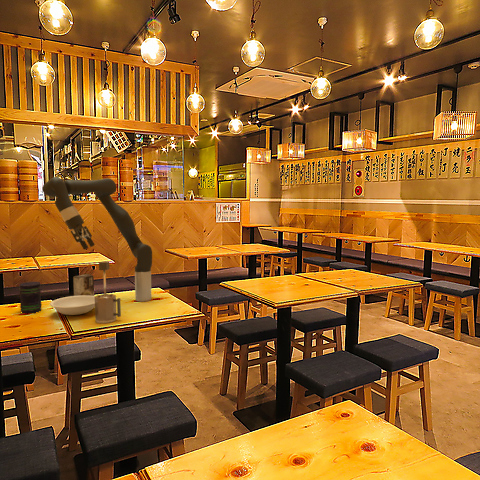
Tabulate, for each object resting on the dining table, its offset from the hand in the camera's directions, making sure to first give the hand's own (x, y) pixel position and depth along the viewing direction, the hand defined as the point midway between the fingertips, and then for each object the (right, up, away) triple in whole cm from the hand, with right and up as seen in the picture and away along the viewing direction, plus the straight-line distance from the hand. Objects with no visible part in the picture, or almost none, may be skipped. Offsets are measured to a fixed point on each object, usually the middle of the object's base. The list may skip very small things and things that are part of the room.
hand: (89, 247), depth 186 cm
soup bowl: (-13, -35, +15) cm, 40 cm away
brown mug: (+8, -36, +3) cm, 37 cm away
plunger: (+7, -25, +2) cm, 26 cm away
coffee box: (-16, -33, +34) cm, 50 cm away
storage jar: (-38, -34, +18) cm, 54 cm away
